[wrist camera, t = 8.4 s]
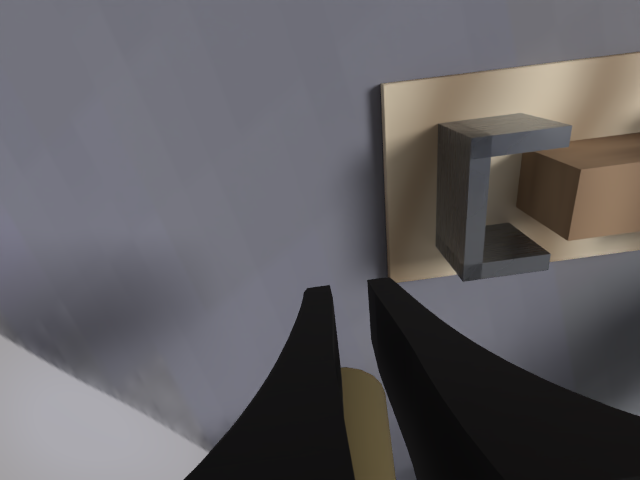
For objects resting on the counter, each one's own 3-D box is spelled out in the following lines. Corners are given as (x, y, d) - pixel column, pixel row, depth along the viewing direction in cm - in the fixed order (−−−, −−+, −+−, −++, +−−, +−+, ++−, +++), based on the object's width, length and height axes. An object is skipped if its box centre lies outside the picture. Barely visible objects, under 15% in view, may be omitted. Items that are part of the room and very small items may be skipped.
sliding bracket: (521, 112, 18) (572, 125, 14) (507, 236, 20) (548, 269, 17) (437, 123, 17) (471, 138, 14) (435, 246, 20) (463, 281, 17)
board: (775, 34, 18) (790, 34, 17) (704, 235, 22) (715, 239, 21) (380, 83, 17) (383, 84, 17) (388, 277, 21) (390, 283, 21)
